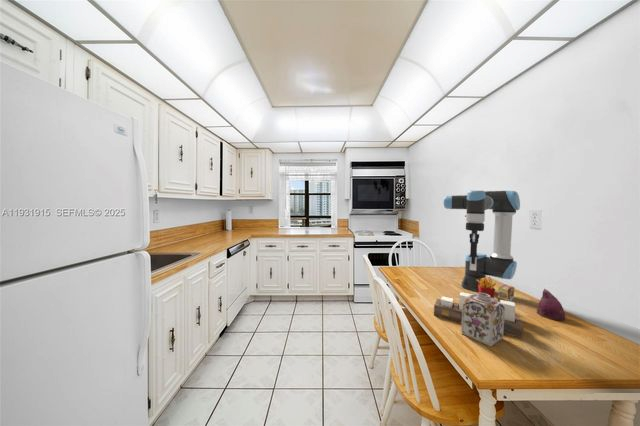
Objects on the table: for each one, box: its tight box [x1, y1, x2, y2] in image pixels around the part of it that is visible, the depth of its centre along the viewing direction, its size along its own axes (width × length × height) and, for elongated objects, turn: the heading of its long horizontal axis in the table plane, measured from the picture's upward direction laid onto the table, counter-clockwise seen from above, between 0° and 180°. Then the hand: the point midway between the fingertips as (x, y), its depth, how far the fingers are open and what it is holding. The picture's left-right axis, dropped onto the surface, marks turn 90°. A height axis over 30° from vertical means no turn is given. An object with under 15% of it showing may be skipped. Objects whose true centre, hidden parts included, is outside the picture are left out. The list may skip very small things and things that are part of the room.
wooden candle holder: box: [433, 298, 524, 338], centre depth 114 cm, size 10×34×5 cm, turn 56°
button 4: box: [500, 300, 517, 322], centre depth 107 cm, size 5×5×7 cm
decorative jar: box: [460, 292, 505, 347], centre depth 101 cm, size 12×12×18 cm
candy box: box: [496, 284, 515, 302], centre depth 119 cm, size 9×4×15 cm, turn 123°
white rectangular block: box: [440, 296, 454, 308], centre depth 121 cm, size 5×5×7 cm
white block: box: [458, 291, 471, 310], centre depth 116 cm, size 5×5×7 cm
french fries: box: [476, 276, 497, 299], centre depth 136 cm, size 9×8×15 cm
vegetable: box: [536, 288, 566, 322], centre depth 122 cm, size 10×10×15 cm
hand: (472, 269), depth 118 cm, fingers closed
